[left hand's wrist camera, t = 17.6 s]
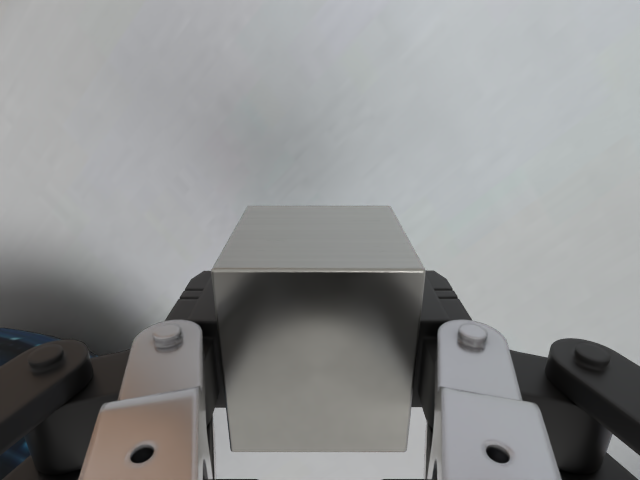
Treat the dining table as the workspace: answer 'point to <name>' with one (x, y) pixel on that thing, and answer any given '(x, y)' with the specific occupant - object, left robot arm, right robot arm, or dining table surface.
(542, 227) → the dining table surface
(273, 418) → the block
